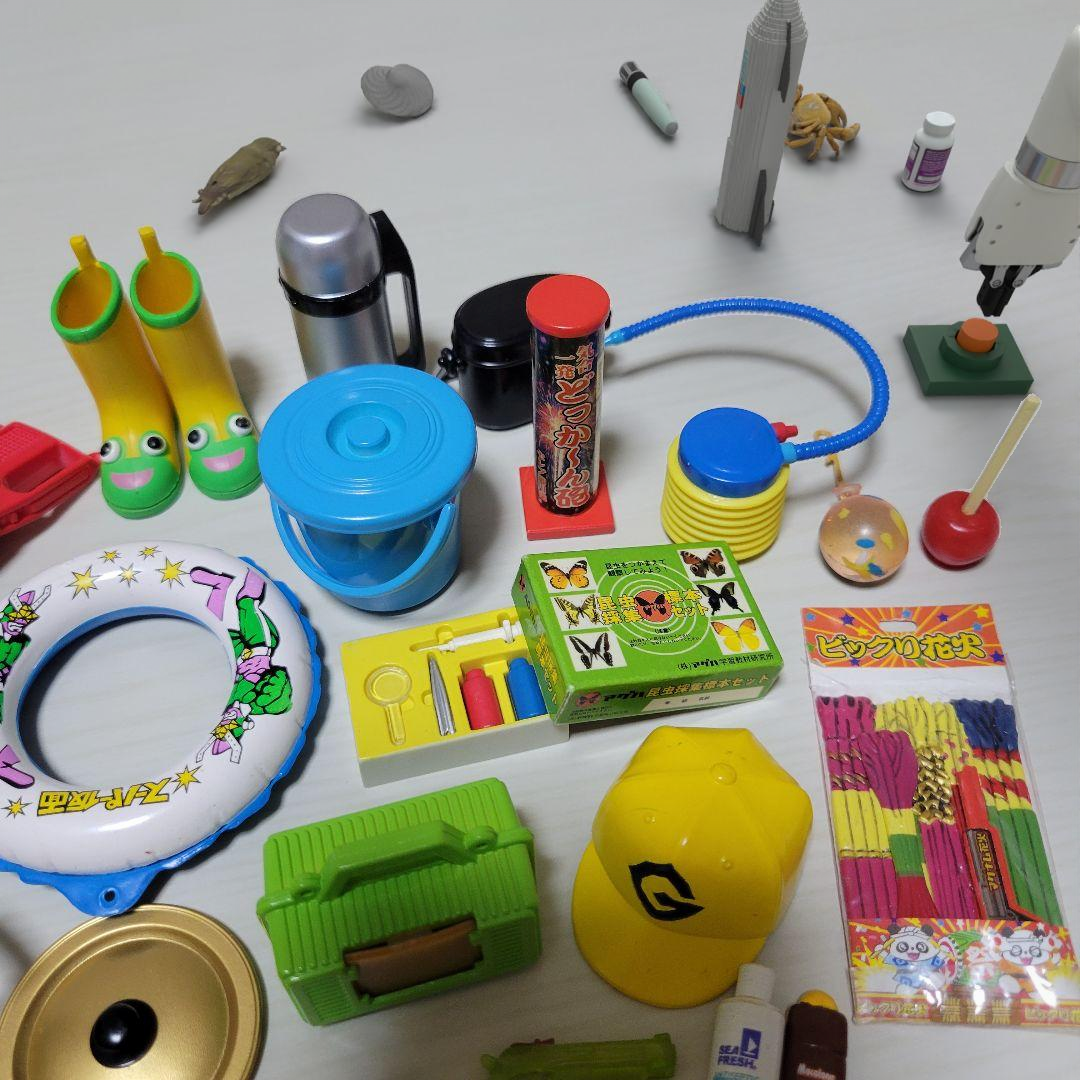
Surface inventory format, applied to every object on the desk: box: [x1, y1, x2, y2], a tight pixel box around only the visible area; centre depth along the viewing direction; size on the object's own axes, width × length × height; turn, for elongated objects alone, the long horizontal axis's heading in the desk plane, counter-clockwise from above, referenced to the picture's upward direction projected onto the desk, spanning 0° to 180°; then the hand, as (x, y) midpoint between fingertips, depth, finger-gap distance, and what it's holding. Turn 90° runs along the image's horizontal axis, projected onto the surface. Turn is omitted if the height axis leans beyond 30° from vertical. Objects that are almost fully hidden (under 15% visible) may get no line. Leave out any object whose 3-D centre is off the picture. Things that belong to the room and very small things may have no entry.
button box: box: [903, 320, 1035, 397], centre depth 112 cm, size 12×10×4 cm
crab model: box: [784, 82, 861, 161], centre depth 143 cm, size 16×13×6 cm
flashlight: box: [618, 60, 679, 137], centre depth 149 cm, size 3×4×20 cm
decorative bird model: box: [191, 136, 287, 216], centre depth 135 cm, size 5×20×5 cm, turn 151°
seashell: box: [360, 63, 434, 119], centre depth 149 cm, size 12×6×10 cm
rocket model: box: [714, 0, 809, 248], centre depth 120 cm, size 14×7×30 cm, turn 11°
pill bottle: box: [901, 111, 956, 192], centre depth 133 cm, size 5×5×10 cm
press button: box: [956, 317, 998, 353], centre depth 110 cm, size 4×4×2 cm
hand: (988, 308), depth 107 cm, fingers closed
